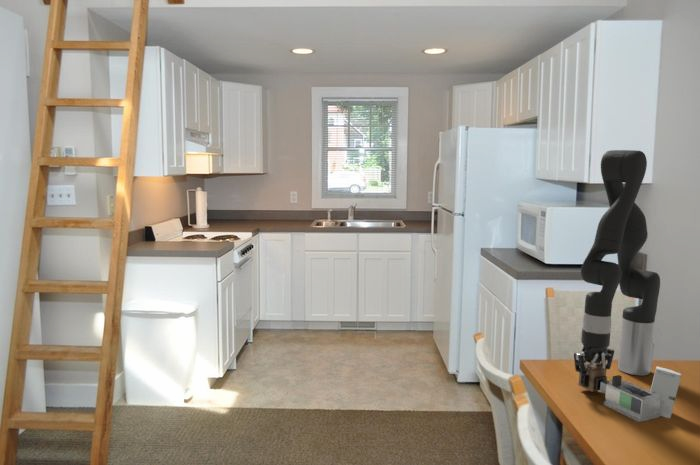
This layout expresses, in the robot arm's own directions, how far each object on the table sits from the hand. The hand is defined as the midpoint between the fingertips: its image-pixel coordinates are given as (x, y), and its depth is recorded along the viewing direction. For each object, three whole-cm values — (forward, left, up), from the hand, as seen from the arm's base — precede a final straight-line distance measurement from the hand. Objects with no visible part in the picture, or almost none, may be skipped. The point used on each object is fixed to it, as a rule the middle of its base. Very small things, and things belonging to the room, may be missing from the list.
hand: (591, 384), depth 159 cm
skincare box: (-6, +17, -3) cm, 18 cm away
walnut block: (0, 0, -1) cm, 1 cm away
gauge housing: (0, +13, -2) cm, 13 cm away
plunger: (+1, +7, 0) cm, 7 cm away
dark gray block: (+3, +11, +4) cm, 12 cm away
